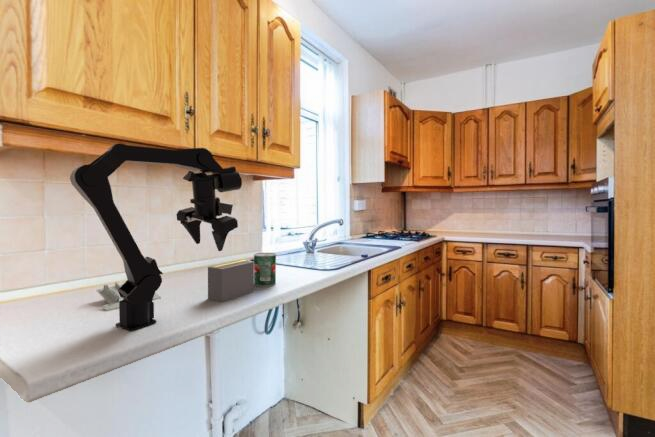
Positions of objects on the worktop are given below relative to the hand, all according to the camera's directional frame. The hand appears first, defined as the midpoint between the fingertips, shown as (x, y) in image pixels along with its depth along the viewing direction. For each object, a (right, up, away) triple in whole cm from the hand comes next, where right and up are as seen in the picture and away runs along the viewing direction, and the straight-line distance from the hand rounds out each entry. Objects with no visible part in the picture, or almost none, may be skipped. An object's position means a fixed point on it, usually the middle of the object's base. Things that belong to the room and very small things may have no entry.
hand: (209, 247), depth 96 cm
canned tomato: (+11, -16, +25) cm, 32 cm away
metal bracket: (-26, -17, +3) cm, 31 cm away
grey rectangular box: (+4, -16, +10) cm, 20 cm away
